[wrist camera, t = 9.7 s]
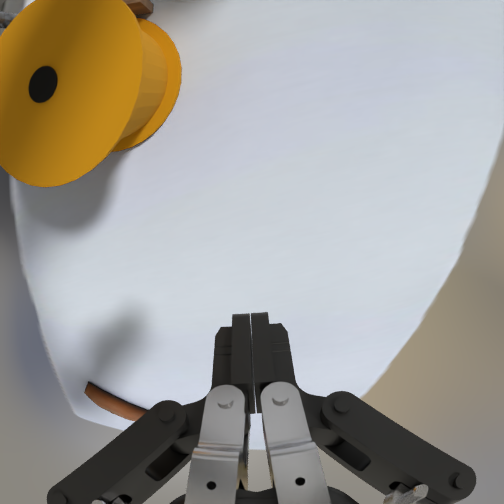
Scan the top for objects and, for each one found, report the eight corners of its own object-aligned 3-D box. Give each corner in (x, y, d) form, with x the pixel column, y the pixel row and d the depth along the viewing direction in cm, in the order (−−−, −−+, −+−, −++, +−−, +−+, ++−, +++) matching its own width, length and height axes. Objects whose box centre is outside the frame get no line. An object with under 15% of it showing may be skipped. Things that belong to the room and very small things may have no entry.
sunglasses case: (81, 392, 60) (78, 406, 54) (90, 373, 61) (86, 385, 55) (142, 420, 66) (143, 435, 60) (152, 403, 67) (154, 417, 60)
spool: (177, 3, 24) (140, -45, 11) (188, 139, 33) (155, 168, 20) (52, 43, 24) (-23, 37, 11) (65, 162, 33) (-4, 203, 20)
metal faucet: (27, 32, 22) (-50, 28, 8) (44, 9, 21) (-31, -6, 7) (57, 59, 25) (-26, 59, 12) (76, 34, 24) (-4, 19, 10)
